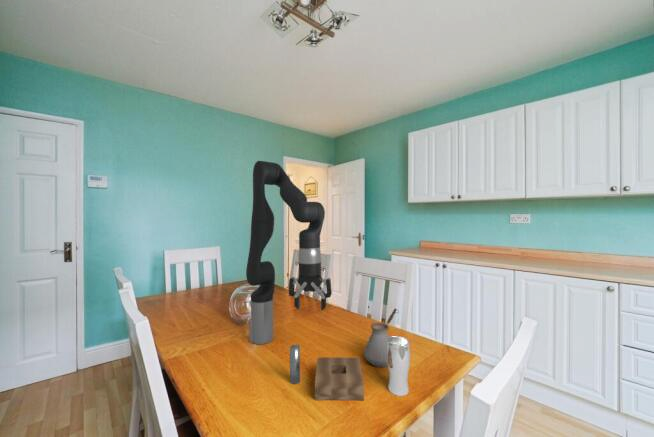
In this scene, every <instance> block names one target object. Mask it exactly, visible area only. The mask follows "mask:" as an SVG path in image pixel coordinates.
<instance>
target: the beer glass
mask: <svg viewBox="0 0 654 437" xmlns="http://www.w3.org/2000/svg"><path fill="white" fill-rule="evenodd" d="M386 355H387V364H388V366H387V368H388V375H389V378H388V385H387V389H388V391H389V392H390V393H391V394H392V395H394V396H398V397H403V396H407V395H408V393H410V391H409V390H410V388H409V383H408V375H409V369H410V364H411V349H410V340H409V339H408V338H406V337H404V336H399V335H392V336H391V335H390V336H389V338H388V339H387V349H386Z"/></svg>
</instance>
